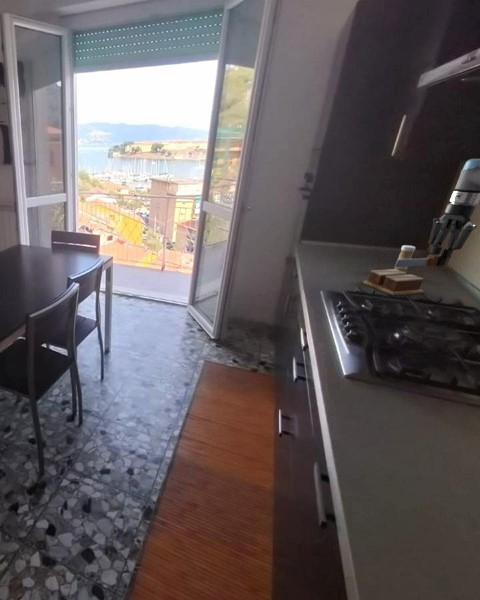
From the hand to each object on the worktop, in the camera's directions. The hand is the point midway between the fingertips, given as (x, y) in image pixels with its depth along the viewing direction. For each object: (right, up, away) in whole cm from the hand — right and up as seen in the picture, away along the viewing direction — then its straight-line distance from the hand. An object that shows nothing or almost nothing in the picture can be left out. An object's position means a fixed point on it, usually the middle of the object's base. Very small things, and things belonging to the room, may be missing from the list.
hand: (435, 264), depth 141 cm
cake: (-10, -9, +9) cm, 16 cm away
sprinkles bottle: (+7, -3, +24) cm, 25 cm away
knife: (-7, -1, -1) cm, 8 cm away
